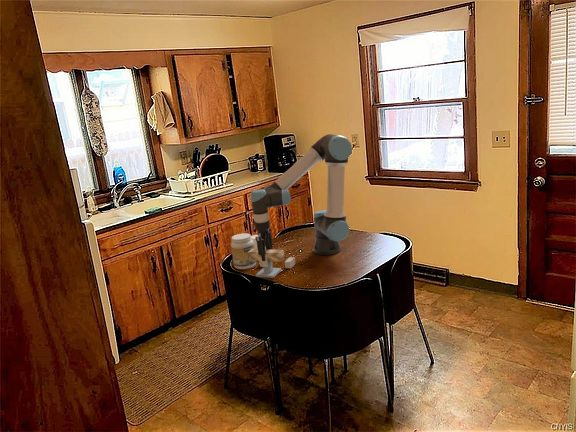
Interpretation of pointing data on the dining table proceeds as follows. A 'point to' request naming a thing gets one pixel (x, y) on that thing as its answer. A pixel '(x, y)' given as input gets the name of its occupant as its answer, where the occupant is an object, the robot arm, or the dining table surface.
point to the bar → (271, 255)
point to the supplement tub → (242, 251)
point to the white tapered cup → (255, 241)
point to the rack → (288, 263)
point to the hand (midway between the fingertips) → (267, 264)
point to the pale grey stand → (268, 271)
